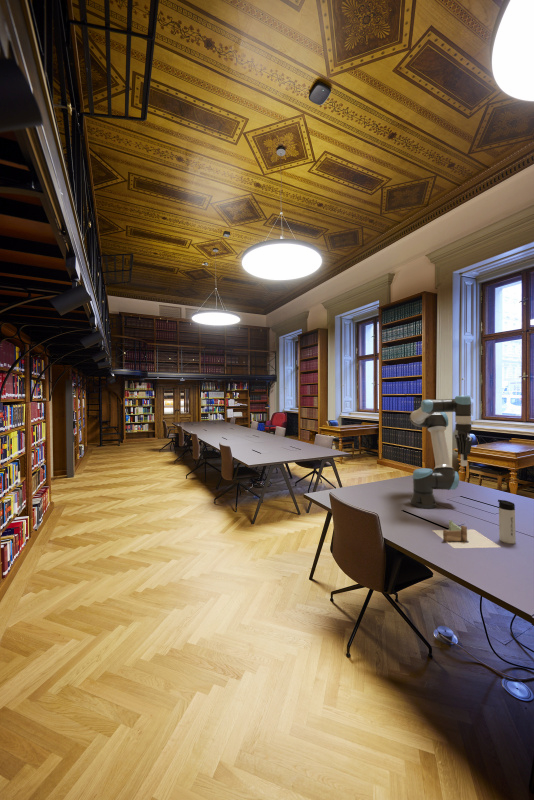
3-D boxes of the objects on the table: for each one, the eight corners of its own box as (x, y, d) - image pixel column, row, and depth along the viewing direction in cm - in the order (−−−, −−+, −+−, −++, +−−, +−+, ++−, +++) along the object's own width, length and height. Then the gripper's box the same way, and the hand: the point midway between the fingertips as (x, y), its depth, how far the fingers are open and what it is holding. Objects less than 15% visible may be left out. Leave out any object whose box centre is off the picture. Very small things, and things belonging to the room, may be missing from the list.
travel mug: (499, 538, 159) (498, 498, 159) (515, 541, 155) (515, 500, 154) (498, 542, 154) (497, 501, 154) (515, 546, 150) (514, 504, 150)
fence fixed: (442, 540, 157) (442, 526, 157) (465, 539, 157) (464, 525, 157) (444, 542, 154) (444, 528, 154) (468, 542, 154) (467, 527, 154)
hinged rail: (463, 538, 157) (463, 528, 157) (460, 538, 157) (460, 528, 157) (451, 529, 168) (451, 520, 168) (448, 529, 168) (448, 520, 168)
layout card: (432, 531, 168) (432, 530, 168) (473, 530, 168) (473, 529, 168) (454, 549, 148) (453, 548, 148) (501, 548, 148) (501, 547, 148)
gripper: (477, 424, 170) (478, 468, 170) (463, 422, 183) (463, 463, 183) (463, 424, 170) (464, 468, 171) (449, 422, 183) (450, 463, 184)
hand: (464, 465), depth 177 cm, fingers closed
